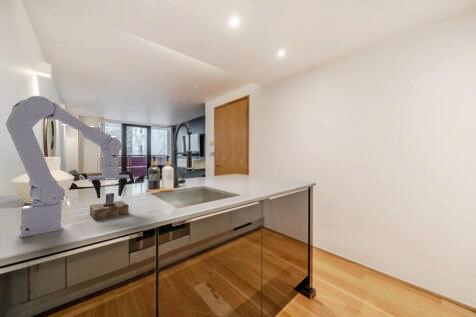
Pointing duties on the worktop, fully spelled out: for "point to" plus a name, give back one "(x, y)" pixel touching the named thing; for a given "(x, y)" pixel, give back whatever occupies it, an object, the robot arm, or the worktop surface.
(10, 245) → the worktop surface
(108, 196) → the peg
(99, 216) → the hole block
